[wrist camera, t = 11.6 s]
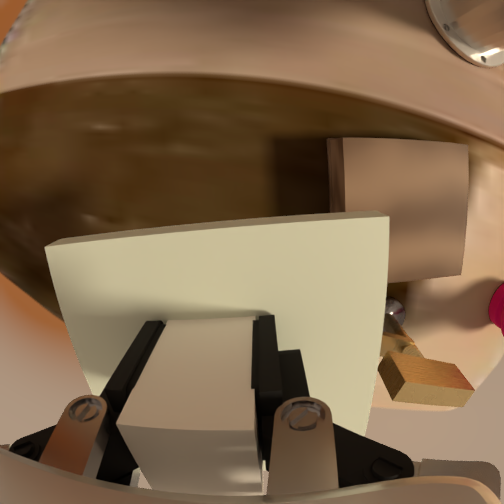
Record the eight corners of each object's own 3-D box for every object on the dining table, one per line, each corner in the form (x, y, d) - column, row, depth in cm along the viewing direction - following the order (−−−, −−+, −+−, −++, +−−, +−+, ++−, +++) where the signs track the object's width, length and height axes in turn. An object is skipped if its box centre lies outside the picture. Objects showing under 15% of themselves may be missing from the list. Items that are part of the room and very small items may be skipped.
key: (320, 311, 30) (350, 395, 18) (328, 293, 30) (364, 373, 18) (411, 335, 31) (462, 407, 19) (419, 320, 31) (475, 389, 19)
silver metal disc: (366, 298, 31) (369, 303, 30) (403, 294, 31) (407, 298, 30) (363, 334, 32) (365, 339, 31) (399, 330, 32) (402, 334, 31)
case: (326, 138, 27) (339, 134, 22) (441, 142, 26) (469, 142, 21) (330, 269, 30) (342, 289, 26) (438, 260, 30) (462, 276, 25)
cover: (61, 238, 11) (-52, 299, 5) (376, 210, 10) (487, 266, 5) (134, 448, 14) (103, 534, 8) (354, 442, 14) (380, 537, 8)
